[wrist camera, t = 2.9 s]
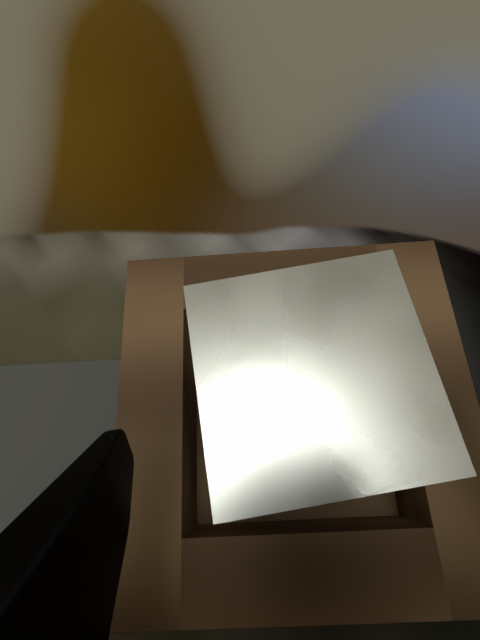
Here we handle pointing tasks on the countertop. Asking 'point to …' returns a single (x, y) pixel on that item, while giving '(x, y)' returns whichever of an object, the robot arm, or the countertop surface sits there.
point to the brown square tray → (290, 526)
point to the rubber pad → (49, 423)
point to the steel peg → (317, 388)
